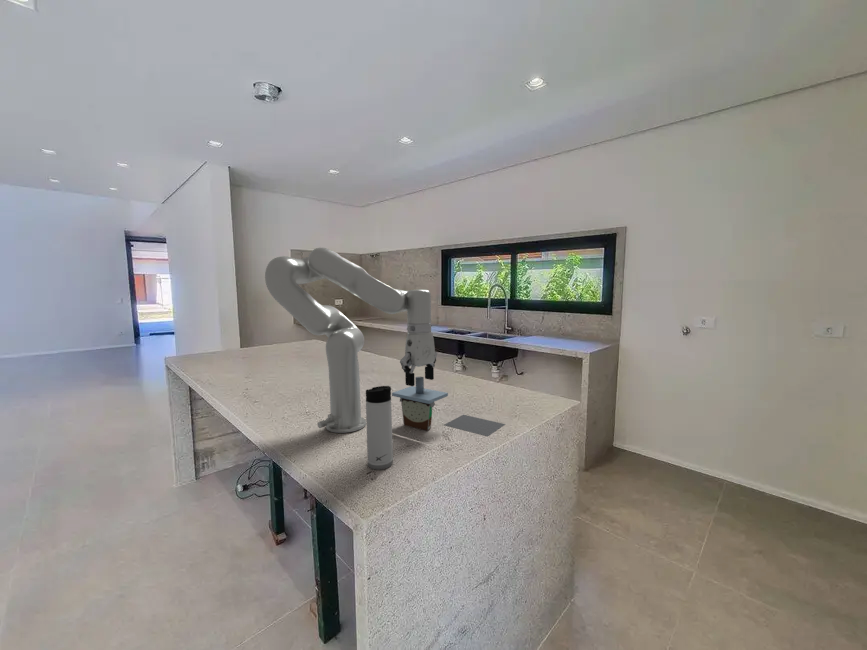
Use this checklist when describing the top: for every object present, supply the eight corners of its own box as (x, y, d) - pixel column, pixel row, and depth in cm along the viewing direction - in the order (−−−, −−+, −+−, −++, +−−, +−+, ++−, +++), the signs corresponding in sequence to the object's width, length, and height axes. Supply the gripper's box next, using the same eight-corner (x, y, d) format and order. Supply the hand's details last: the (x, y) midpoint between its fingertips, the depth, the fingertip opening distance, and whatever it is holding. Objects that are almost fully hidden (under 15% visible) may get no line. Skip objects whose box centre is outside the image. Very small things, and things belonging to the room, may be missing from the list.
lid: (429, 403, 106) (428, 384, 106) (391, 395, 115) (391, 377, 115) (448, 395, 114) (447, 377, 114) (412, 388, 123) (411, 371, 123)
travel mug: (383, 472, 86) (380, 391, 84) (362, 466, 89) (360, 387, 87) (398, 462, 91) (397, 385, 89) (379, 456, 95) (376, 382, 93)
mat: (487, 437, 106) (487, 436, 106) (443, 426, 115) (443, 424, 115) (505, 425, 115) (505, 424, 115) (463, 415, 125) (463, 414, 125)
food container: (442, 426, 115) (442, 396, 114) (432, 433, 110) (431, 401, 109) (411, 419, 122) (410, 390, 121) (400, 425, 116) (399, 395, 115)
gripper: (410, 332, 104) (411, 390, 105) (444, 327, 117) (445, 378, 119) (391, 330, 108) (392, 386, 110) (426, 326, 122) (427, 375, 123)
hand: (420, 382), depth 114 cm, fingers open, 9 cm apart
